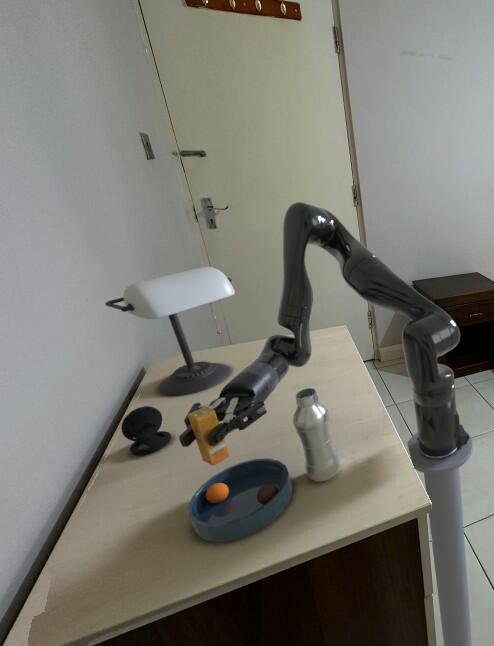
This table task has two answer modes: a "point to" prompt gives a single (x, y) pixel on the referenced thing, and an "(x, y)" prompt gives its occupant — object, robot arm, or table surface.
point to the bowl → (240, 501)
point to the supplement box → (202, 426)
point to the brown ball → (266, 493)
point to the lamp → (168, 300)
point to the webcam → (145, 430)
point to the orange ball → (217, 493)
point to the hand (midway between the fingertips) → (197, 442)
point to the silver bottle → (315, 436)
